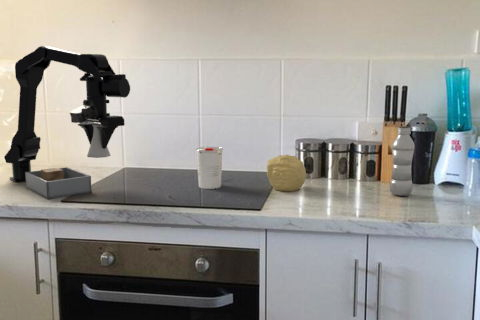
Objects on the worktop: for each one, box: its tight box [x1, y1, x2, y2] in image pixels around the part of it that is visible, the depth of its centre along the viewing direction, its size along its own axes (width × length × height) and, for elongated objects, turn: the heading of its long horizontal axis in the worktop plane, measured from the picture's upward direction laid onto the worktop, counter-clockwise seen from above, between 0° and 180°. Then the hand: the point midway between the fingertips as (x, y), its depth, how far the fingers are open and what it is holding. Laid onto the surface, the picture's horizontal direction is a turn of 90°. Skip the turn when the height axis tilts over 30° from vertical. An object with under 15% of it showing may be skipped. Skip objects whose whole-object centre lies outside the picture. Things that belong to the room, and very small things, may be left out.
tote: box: [25, 166, 93, 200], centre depth 161 cm, size 18×13×5 cm
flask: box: [86, 123, 111, 159], centre depth 162 cm, size 7×7×10 cm
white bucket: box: [195, 146, 224, 190], centre depth 165 cm, size 10×8×12 cm
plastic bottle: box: [389, 126, 415, 197], centre depth 153 cm, size 6×7×20 cm
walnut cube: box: [40, 167, 63, 181], centre depth 164 cm, size 5×5×5 cm
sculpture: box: [266, 154, 307, 192], centre depth 162 cm, size 11×12×11 cm
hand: (98, 147), depth 163 cm, fingers closed on flask, 5 cm apart
